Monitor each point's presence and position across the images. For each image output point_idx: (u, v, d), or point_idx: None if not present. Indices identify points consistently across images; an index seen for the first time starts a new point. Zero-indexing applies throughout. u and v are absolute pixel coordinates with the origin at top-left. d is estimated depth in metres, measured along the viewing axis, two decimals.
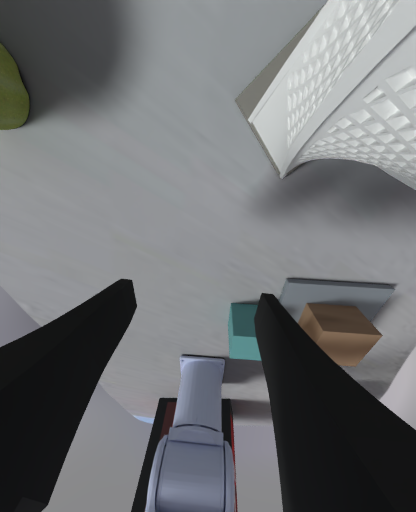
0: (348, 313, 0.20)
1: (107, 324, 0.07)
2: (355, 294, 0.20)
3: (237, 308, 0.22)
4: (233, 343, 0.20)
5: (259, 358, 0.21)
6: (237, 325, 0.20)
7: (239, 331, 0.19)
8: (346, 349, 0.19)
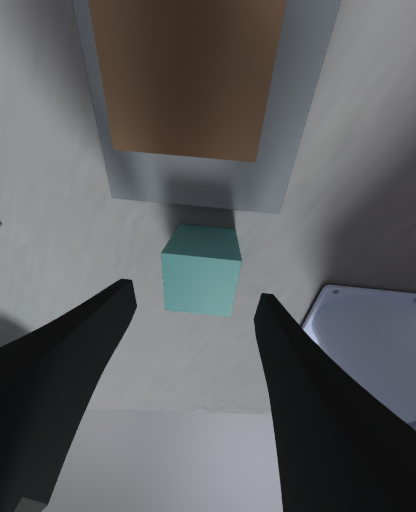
0: None
1: (107, 324, 0.07)
2: None
3: None
4: (186, 310, 0.12)
5: (231, 273, 0.10)
6: None
7: None
8: (176, 27, 0.05)
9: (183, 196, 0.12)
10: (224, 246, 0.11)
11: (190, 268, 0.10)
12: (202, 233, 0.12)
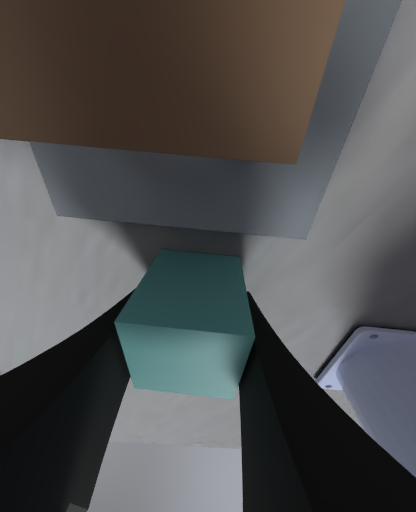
0: None
1: None
2: None
3: None
4: (166, 389, 0.08)
5: (235, 351, 0.06)
6: None
7: None
8: None
9: (162, 214, 0.08)
10: (224, 296, 0.07)
11: (166, 343, 0.06)
12: (191, 268, 0.08)
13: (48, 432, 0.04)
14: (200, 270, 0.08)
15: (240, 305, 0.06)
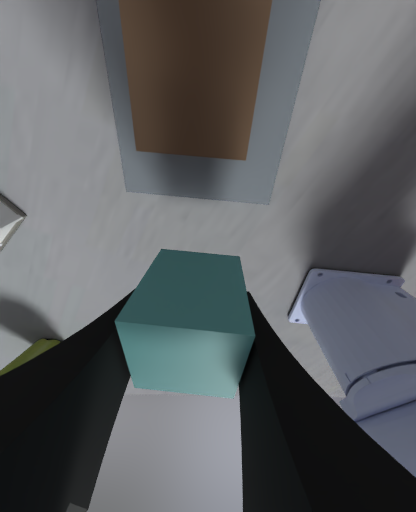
0: None
1: None
2: (121, 51, 0.10)
3: None
4: (166, 389, 0.08)
5: (235, 350, 0.06)
6: None
7: None
8: (186, 62, 0.07)
9: (187, 190, 0.14)
10: (224, 296, 0.07)
11: (167, 342, 0.06)
12: (191, 268, 0.08)
13: (48, 432, 0.04)
14: (200, 270, 0.08)
15: (240, 304, 0.06)
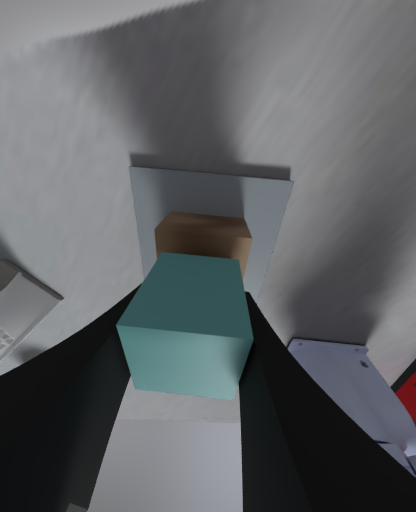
0: None
1: None
2: (148, 220, 0.14)
3: None
4: (166, 390, 0.08)
5: (234, 353, 0.06)
6: None
7: None
8: None
9: None
10: (223, 299, 0.07)
11: (167, 345, 0.06)
12: (191, 271, 0.08)
13: (48, 432, 0.04)
14: (200, 273, 0.08)
15: (239, 308, 0.07)
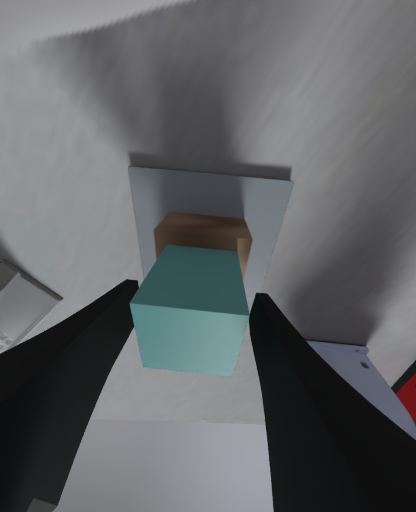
0: None
1: (114, 325, 0.07)
2: (148, 220, 0.14)
3: None
4: (171, 368, 0.08)
5: (233, 330, 0.07)
6: None
7: None
8: None
9: None
10: (223, 284, 0.08)
11: (174, 322, 0.07)
12: (194, 261, 0.09)
13: (3, 427, 0.04)
14: (202, 262, 0.09)
15: (237, 291, 0.07)
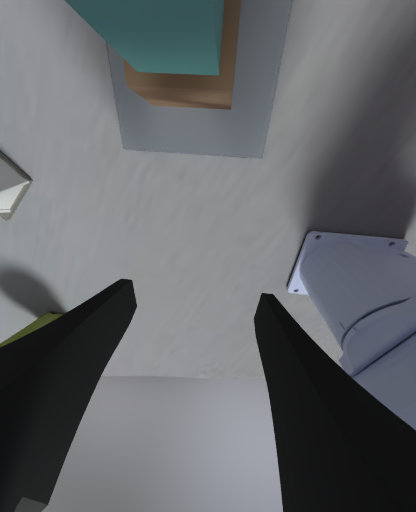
0: None
1: (107, 324, 0.07)
2: None
3: None
4: None
5: None
6: None
7: None
8: None
9: (181, 144, 0.14)
10: None
11: None
12: None
13: None
14: None
15: None
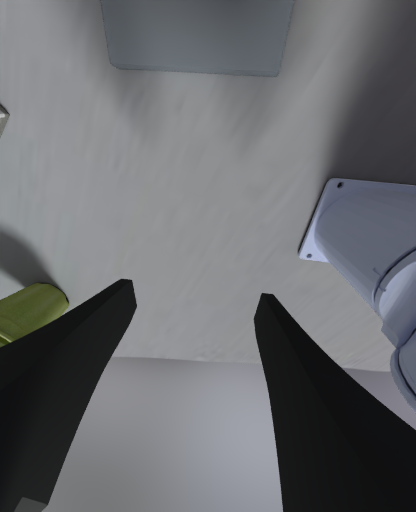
0: None
1: (107, 324, 0.07)
2: None
3: None
4: None
5: None
6: None
7: None
8: None
9: (180, 55, 0.12)
10: None
11: None
12: None
13: None
14: None
15: None
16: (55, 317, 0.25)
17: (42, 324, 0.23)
